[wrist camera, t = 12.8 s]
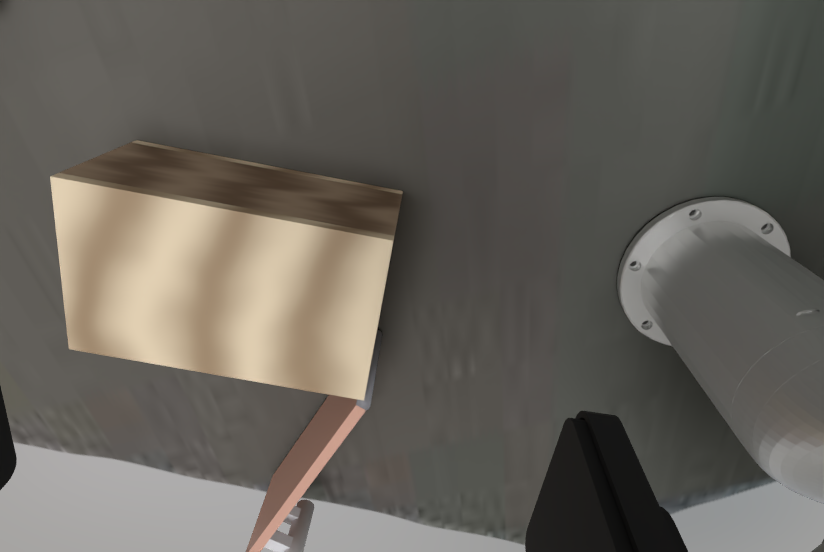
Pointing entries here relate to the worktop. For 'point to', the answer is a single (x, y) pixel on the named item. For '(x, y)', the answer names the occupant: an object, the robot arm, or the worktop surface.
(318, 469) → the door
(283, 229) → the cabinet
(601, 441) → the robot arm
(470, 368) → the worktop surface
